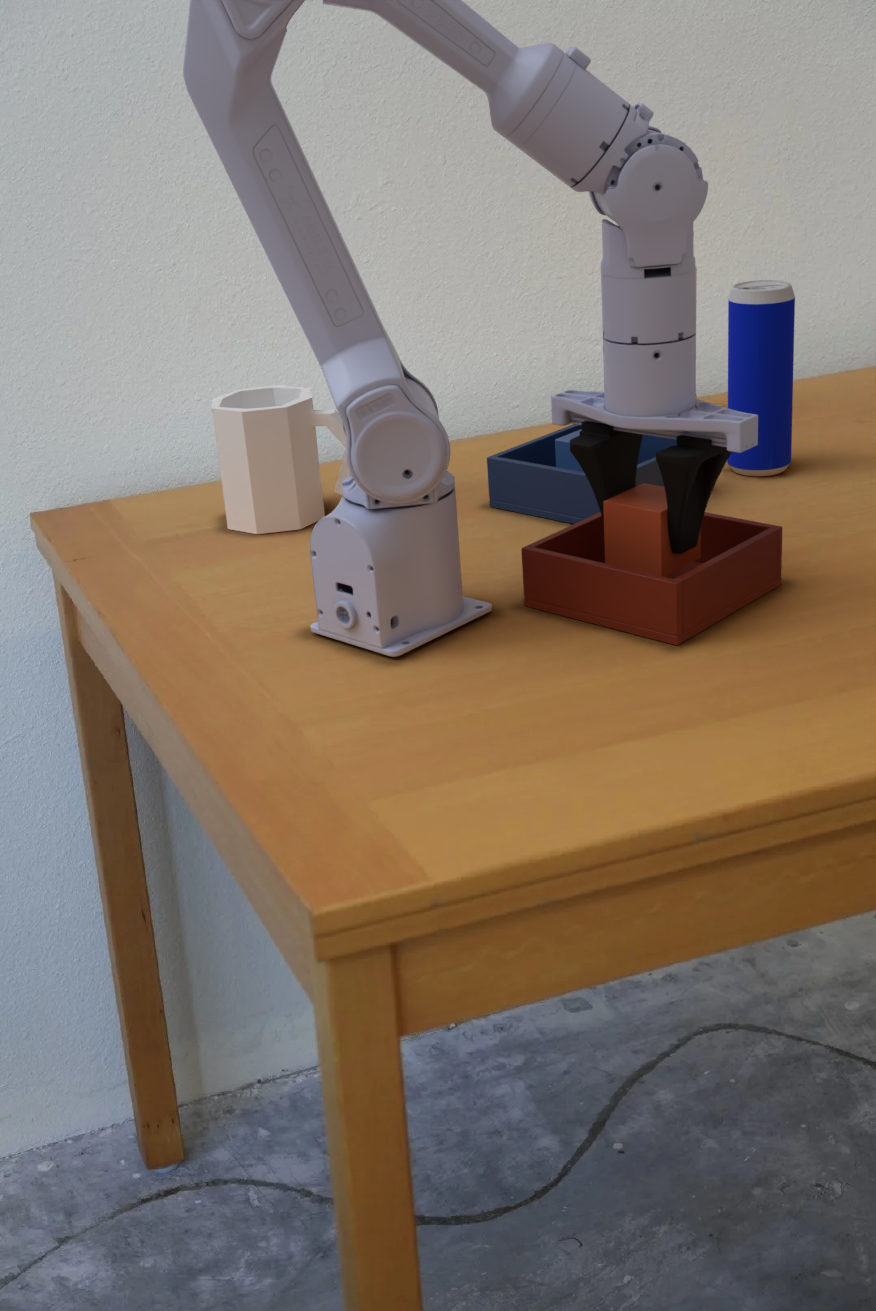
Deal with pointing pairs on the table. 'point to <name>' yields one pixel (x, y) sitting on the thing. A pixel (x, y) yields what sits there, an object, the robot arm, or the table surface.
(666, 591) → the rust bin
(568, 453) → the blue block
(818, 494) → the table surface
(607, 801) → the table surface
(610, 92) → the robot arm
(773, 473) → the beverage can
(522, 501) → the blue bin
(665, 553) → the terracotta block
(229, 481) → the mug
